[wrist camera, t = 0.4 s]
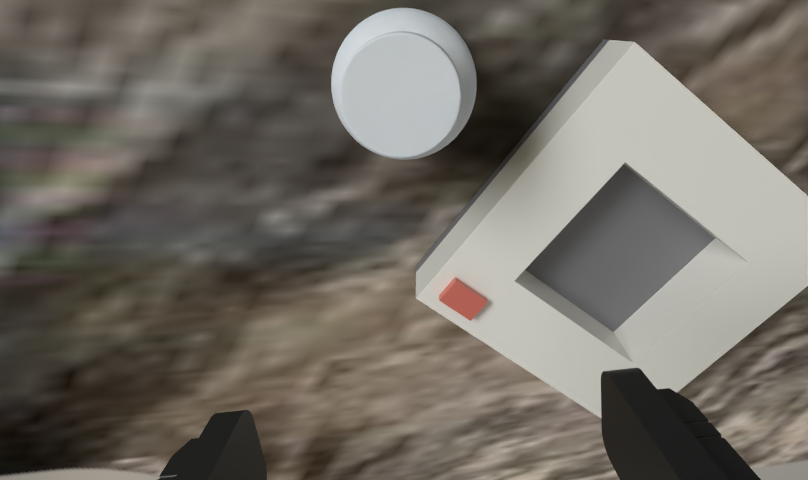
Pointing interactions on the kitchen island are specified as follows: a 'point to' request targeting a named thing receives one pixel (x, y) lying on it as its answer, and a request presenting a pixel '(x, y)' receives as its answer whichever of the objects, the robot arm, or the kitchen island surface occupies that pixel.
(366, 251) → the kitchen island surface
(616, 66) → the socket block
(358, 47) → the pill bottle
